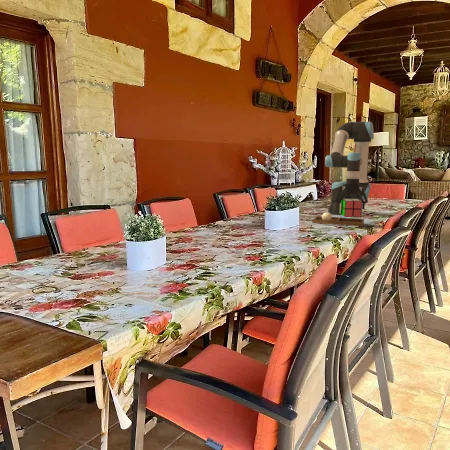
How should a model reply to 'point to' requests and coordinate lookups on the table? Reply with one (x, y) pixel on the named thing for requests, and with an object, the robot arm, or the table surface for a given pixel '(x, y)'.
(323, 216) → the ceramic egg
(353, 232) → the table surface
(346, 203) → the puzzle cube
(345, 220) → the brown wooden tray
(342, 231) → the table surface
